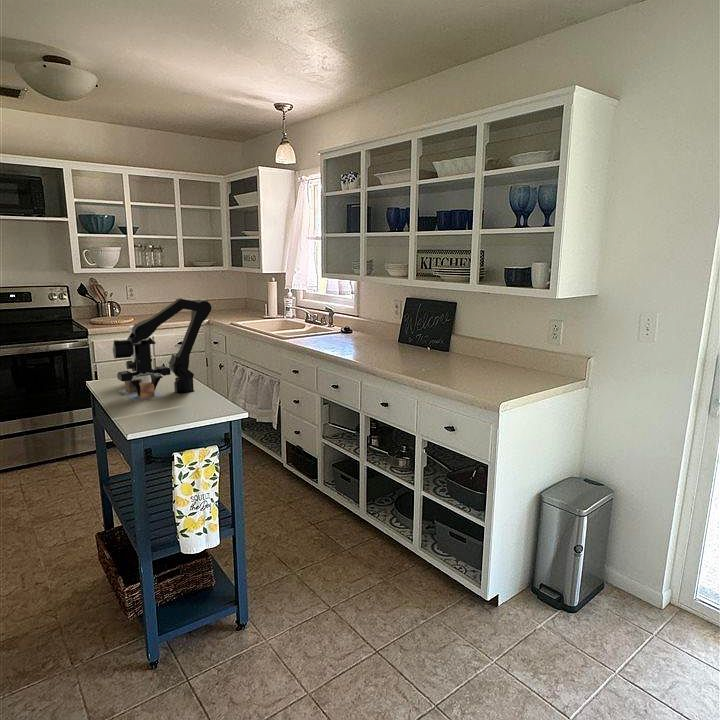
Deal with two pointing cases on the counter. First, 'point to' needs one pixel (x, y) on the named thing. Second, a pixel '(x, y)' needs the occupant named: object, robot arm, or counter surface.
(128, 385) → the walnut block
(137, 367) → the robot arm
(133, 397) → the board
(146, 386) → the terracotta block
